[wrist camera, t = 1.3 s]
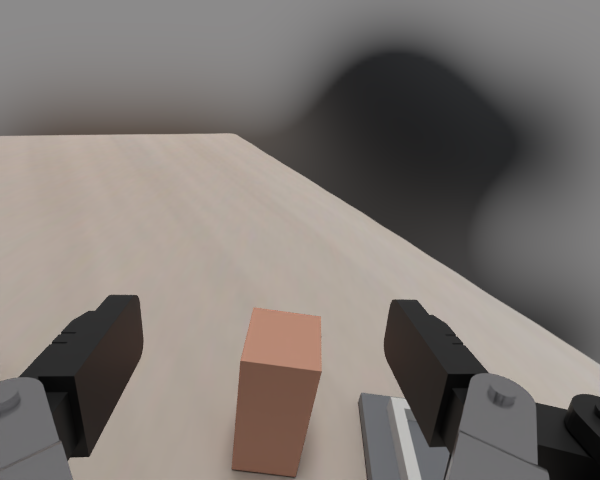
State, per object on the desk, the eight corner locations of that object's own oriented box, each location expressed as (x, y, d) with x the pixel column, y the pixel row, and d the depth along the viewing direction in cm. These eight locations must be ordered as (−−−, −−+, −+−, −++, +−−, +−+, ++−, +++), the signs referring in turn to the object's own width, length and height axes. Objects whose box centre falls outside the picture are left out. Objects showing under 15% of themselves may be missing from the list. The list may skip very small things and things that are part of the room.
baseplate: (377, 559, 23) (387, 540, 22) (358, 400, 34) (364, 382, 33) (578, 582, 24) (600, 566, 22) (498, 419, 34) (510, 401, 33)
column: (231, 469, 27) (240, 360, 21) (243, 410, 31) (253, 307, 26) (295, 477, 27) (321, 371, 21) (298, 417, 31) (320, 316, 26)
